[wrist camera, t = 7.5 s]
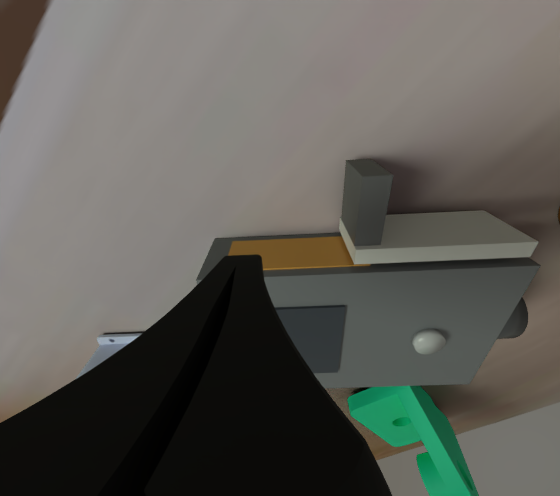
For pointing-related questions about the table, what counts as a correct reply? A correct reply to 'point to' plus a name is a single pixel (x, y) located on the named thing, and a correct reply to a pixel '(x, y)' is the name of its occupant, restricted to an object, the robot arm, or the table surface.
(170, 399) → the robot arm
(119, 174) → the table surface
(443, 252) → the side door
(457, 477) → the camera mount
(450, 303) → the camera body
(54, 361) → the table surface
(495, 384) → the table surface
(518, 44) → the table surface
